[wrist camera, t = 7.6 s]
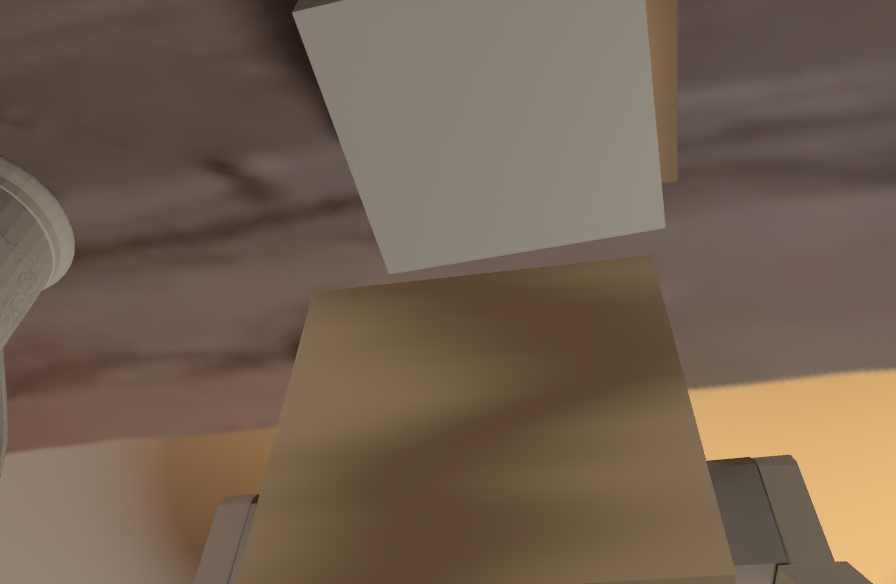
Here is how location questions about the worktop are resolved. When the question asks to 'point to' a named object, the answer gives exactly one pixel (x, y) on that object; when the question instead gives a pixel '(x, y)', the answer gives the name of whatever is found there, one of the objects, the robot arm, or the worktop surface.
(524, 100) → the slate top slab
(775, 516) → the robot arm
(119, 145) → the worktop surface
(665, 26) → the walnut base slab
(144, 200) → the worktop surface
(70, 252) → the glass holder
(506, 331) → the birch block
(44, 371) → the worktop surface
